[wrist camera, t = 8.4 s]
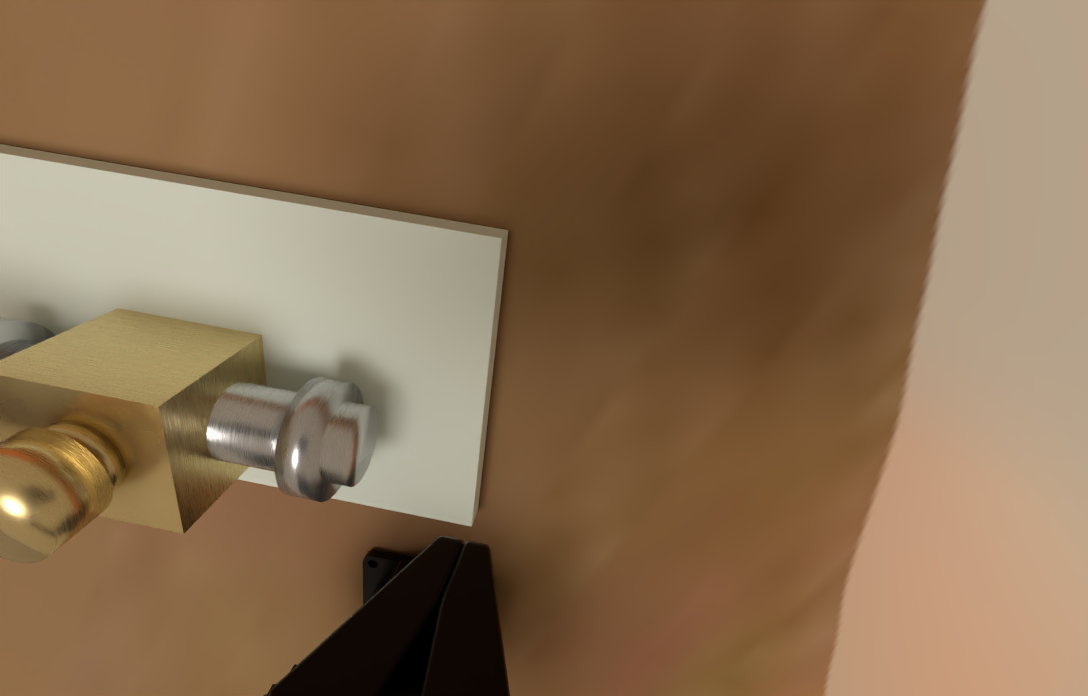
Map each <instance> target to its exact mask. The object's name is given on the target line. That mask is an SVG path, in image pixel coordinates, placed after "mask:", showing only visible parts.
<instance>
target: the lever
mask: <svg viewBox="0 0 1088 696" xmlns="http://www.w3.org/2000/svg"><path fill="white" fill-rule="evenodd" d="M112 496H113V489H112V484H111V481H110V478H109V476H108V474H107V472H106V470H105V469H104V467H103V466H102V464H101V463H100V462H99V460H98V459H97V458H96V457H95V456H94V455H93V454H92V453H91V452H90V451H89V450H88V449H86V448H85V447H84V446H83V445H81V444H80V443H78V442H77V441H75V440H74V439H72V438H70V437H68V436H66V435H64V434H62V433H59V432H57V431H54V430H50V429H45V428H27V429H24V430H21V431H19V432H17V433H16V434H14V435H12V436H10V437H9V438H7V439H5V440H3V441H2V442H0V558H3V559H6V560H9V561H13V562H19V563H35V562H39V561H42V560H44V559H46V558H47V557H48V556H50V555H51V554H52V553H53V552H55V551H56V550H57V549H58V548H59V547H61V546H62V545H63V544H64V543H66V542H67V541H68V540H69V539H70V538H72V537H73V536H74V535H75V534H76V533H78V532H79V531H80V530H81V529H83V528H84V527H85V526H86V525H87V524H89V523H90V522H91V521H92V520H94V519H95V518H96V517H97V516H98V515H100V514H101V513H102V512H103V511H105V510H106V509H107V508H108V506H109V505H110V503H111V500H112Z"/></svg>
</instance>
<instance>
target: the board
mask: <svg viewBox="0 0 1088 696" xmlns="http://www.w3.org/2000/svg"><path fill="white" fill-rule="evenodd" d="M507 239H508V230H505V229H499V228H493V227H487V226H481V225H475V224H469V223H464V222H458V221H452V220H446V219H440V218H434V217H428V216H422V215H416V214H410V213H404V212H399V211H393V210H387V209H381V208H375V207H369V206H363V205H357V204H351V203H345V202H340V201H334V200H328V199H322V198H316V197H310V196H304V195H298V194H292V193H286V192H281V191H275V190H269V189H263V188H257V187H251V186H245V185H239V184H233V183H227V182H222V181H216V180H210V179H204V178H198V177H192V176H186V175H180V174H174V173H168V172H163V171H157V170H151V169H145V168H139V167H133V166H127V165H121V164H115V163H109V162H104V161H98V160H92V159H86V158H80V157H74V156H68V155H62V154H56V153H50V152H45V151H39V150H33V149H27V148H21V147H15V146H9V145H3V144H0V317H6V318H11V319H16V320H21V321H27V322H32V323H36V324H39V325H42V326H44V327H45V328H47V329H49V330H50V331H51V332H53V333H54V334H55V335H58V334H60V333H63V332H65V331H67V330H70V329H72V328H74V327H76V326H79V325H81V324H83V323H85V322H88V321H90V320H92V319H94V318H97V317H99V316H101V315H103V314H106V313H108V312H110V311H112V310H115V309H117V308H120V309H125V310H131V311H136V312H141V313H147V314H152V315H158V316H163V317H168V318H174V319H179V320H184V321H190V322H195V323H201V324H206V325H211V326H217V327H222V328H227V329H233V330H238V331H244V332H249V333H254V334H260V335H262V341H263V352H264V362H265V373H266V383H267V386H270V387H275V388H280V389H285V390H290V391H296V392H298V391H299V390H300V389H301V388H302V387H303V386H304V385H305V384H306V383H307V382H308V381H310V380H311V379H313V378H316V377H322V378H327V379H333V380H338V381H343V382H349V383H353V384H355V385H357V386H358V388H359V389H360V391H361V394H362V398H363V404H364V405H369V406H373V407H374V408H375V409H376V412H377V415H378V434H377V440H376V445H375V449H374V453H373V456H372V459H371V462H370V464H369V467H368V469H367V471H366V473H365V475H364V476H363V478H362V479H361V481H360V482H359V483H358V484H357V485H356V486H354V487H348V486H343V485H342V486H341V487H340V489H339V490H338V491H337V492H336V494H335V495H334V496H333V497H331V498H333V499H338V500H343V501H348V502H353V503H358V504H363V505H367V506H372V507H377V508H382V509H387V510H392V511H397V512H402V513H407V514H412V515H417V516H422V517H427V518H432V519H436V520H441V521H446V522H451V523H456V524H461V525H466V526H471V527H472V524H473V522H474V519H475V516H476V513H477V510H478V505H479V496H480V487H481V478H482V469H483V459H484V450H485V441H486V432H487V423H488V413H489V404H490V395H491V386H492V377H493V367H494V358H495V349H496V340H497V331H498V321H499V312H500V303H501V294H502V285H503V275H504V266H505V257H506V248H507ZM238 479H239V480H244V481H249V482H254V483H259V484H264V485H269V486H274V487H278V485H277V482H276V479H275V472H273V471H268V470H263V469H258V468H253V467H249V468H248V469H247V470H246V471H245V472H244V473H243V474H242V475H241V476H240V477H239V478H238Z"/></svg>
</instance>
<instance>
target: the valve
mask: <svg viewBox="0 0 1088 696" xmlns="http://www.w3.org/2000/svg"><path fill="white" fill-rule="evenodd" d="M27 428H45V429H50V430H54V431H57V432H59V433H62V434H64V435H66V436H68V437H70V438H72V439H74V440H75V441H77V442H78V443H80V444H81V445H83V446H84V447H85V448H86V449H88V450H89V451H90V452H91V453H92V454H93V455H94V456H95V457H96V458H97V459H98V460H99V462H100V463H101V464H102V466H103V467H104V469H105V470H106V472H107V474H108V476H109V478H110V481H111V484H112V489H113V496H112V500H111V503H110V505H109V506H108V508H107V509H106V510H105V511H103V512H102V513H101V514H100V515H98V516H102V517H106V518H111V519H116V520H121V521H125V522H130V523H135V524H140V525H144V526H149V527H154V528H159V529H163V530H168V531H173V532H178V533H183V534H184V533H185V532H186V531H187V530H188V529H189V528H190V527H191V526H192V525H193V524H194V523H195V522H196V521H197V520H198V519H199V518H200V517H201V516H202V515H203V514H204V513H205V512H206V510H207V509H208V508H209V507H210V506H211V505H212V504H213V503H214V502H215V501H216V500H217V499H218V498H219V497H220V496H221V495H222V494H223V493H224V492H225V491H226V490H227V489H228V488H229V487H230V486H231V485H232V484H233V483H234V482H235V481H236V480H237V479H238V478H239V477H240V476H241V475H242V474H243V473H244V472H245V471H246V470H247V469H248V468H249V467H253V468H258V469H263V470H268V471H273V472H275V479H276V482H277V485H278V487H279V489H280V490H281V492H283V493H284V494H286V495H289V496H294V497H299V498H304V499H309V500H314V501H319V502H324V501H327V500H329V499H330V498H331V497H333V496H334V495H335V494H336V492H337V491H338V490H339V489H340V487H341V486H342V485H343V486H348V487H354V486H356V485H357V484H358V483H359V482H360V481H361V479H362V478H363V476H364V475H365V473H366V471H367V469H368V467H369V464H370V462H371V459H372V456H373V453H374V449H375V445H376V440H377V434H378V415H377V412H376V409H375V408H374V407H373V406H369V405H364V404H363V398H362V394H361V391H360V389H359V388H358V386H357V385H355V384H353V383H349V382H343V381H338V380H333V379H327V378H322V377H316V378H313V379H311V380H310V381H308V382H307V383H306V384H305V385H304V386H303V387H302V388H301V389H300V390H299V391H298V392H296V391H290V390H285V389H280V388H275V387H270V386H267V383H266V373H265V362H264V352H263V341H262V335H260V334H254V333H249V332H244V331H238V330H233V329H227V328H222V327H217V326H211V325H206V324H201V323H195V322H190V321H184V320H179V319H174V318H168V317H163V316H158V315H152V314H147V313H141V312H136V311H131V310H125V309H120V308H117V309H115V310H112V311H110V312H108V313H106V314H103V315H101V316H99V317H97V318H94V319H92V320H90V321H88V322H85V323H83V324H81V325H79V326H76V327H74V328H72V329H70V330H67V331H65V332H63V333H60V334H58V335H55V334H54V333H53V332H51V331H50V330H49V329H47V328H45V327H44V326H42V325H39V324H36V323H32V322H27V321H21V320H16V319H11V318H6V317H0V438H1V441H3V440H5V439H7V438H9V437H10V436H12V435H14V434H16V433H17V432H19V431H21V430H24V429H27Z"/></svg>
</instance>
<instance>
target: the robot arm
mask: <svg viewBox="0 0 1088 696" xmlns="http://www.w3.org/2000/svg"><path fill="white" fill-rule="evenodd" d="M264 696H510V693H509V685H508V678H507V670H506V663H505V655H504V648H503V640H502V633H501V625H500V618H499V610H498V603H497V595H496V588H495V579H494V573H493V565H492V558H491V550H490V547H489V546H488V545H487V544H482V543H478V542H473V541H467V542H465V544H464V541H463V540H462V539H458V538H453V537H448V536H439V537H438V538H436V539H435V540H434V541H433V542H432V543H431V544H430V545H429V546H428V547H427V548H425V549H424V550H423V551H422V552H421V553H420V554H419V555H418V556H417V557H416V558H410V557H406V556H401V555H396V554H391V553H386V552H382V551H377V550H371V551H369V552H368V553H367V554H366V556H365V558H364V560H363V606H362V607H361V608H360V609H358V610H357V611H356V612H355V613H354V614H353V615H352V616H351V617H350V618H349V619H347V620H346V621H345V622H344V623H343V624H342V625H341V626H340V627H339V628H338V629H336V630H335V631H334V632H333V633H332V634H331V635H330V636H329V637H328V638H327V639H326V640H324V641H323V642H322V643H321V644H320V645H319V646H318V647H317V648H316V649H315V650H313V651H312V652H311V653H310V654H309V655H308V656H307V657H306V658H305V659H304V660H302V661H301V662H300V663H299V664H298V665H296V664H295V665H294V666H293V668H292V669H291V671H290V672H289V673H288V674H287V675H286V676H285V677H284V678H283V679H282V680H280V681H279V682H278V683H277V684H273V685H272V687H271V688H270V690H269V692H268V694H265V695H264Z"/></svg>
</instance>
